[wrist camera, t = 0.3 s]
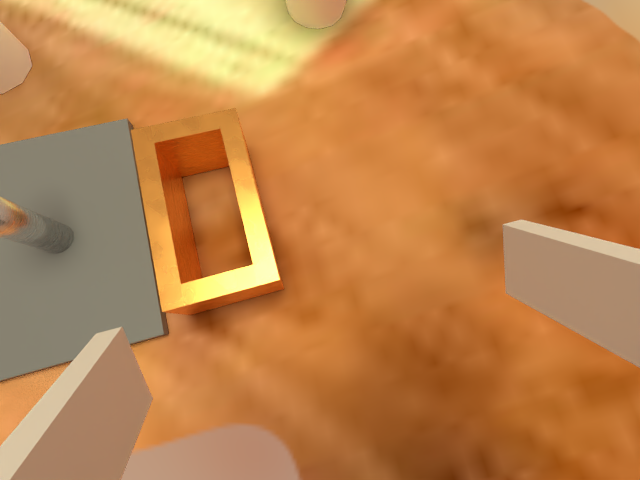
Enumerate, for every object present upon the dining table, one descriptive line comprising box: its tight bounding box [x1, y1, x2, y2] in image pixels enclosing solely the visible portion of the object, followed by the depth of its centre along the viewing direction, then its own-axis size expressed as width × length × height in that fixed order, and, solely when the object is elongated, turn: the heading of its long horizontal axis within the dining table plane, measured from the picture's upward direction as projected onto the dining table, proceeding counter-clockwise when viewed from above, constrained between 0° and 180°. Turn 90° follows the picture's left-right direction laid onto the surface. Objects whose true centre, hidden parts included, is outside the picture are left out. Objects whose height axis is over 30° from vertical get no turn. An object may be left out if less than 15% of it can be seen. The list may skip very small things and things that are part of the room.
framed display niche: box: [131, 108, 284, 315], centre depth 27 cm, size 14×8×6 cm, turn 16°
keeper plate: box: [0, 119, 169, 381], centre depth 29 cm, size 20×14×1 cm
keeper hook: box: [0, 197, 74, 253], centre depth 24 cm, size 5×2×10 cm, turn 16°
